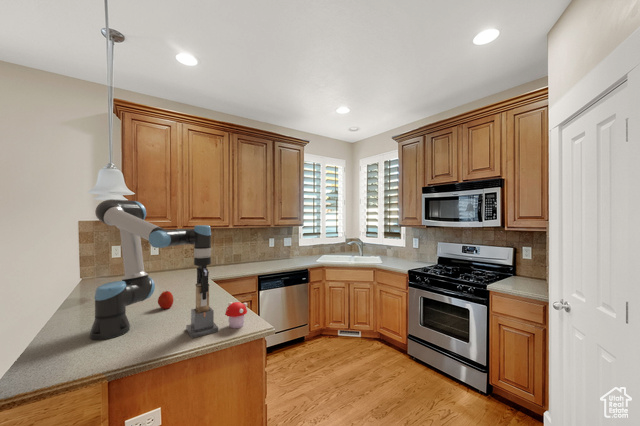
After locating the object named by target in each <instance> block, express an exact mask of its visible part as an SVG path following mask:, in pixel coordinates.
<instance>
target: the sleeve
mask: <svg viewBox="0 0 640 426" xmlns="http://www.w3.org/2000/svg"><path fill="white" fill-rule="evenodd" d="M214 313H215V311H214V310H213V309H212V307H211V306H210V305H209V311H205V312H200V313H196V307H195V308H191V309H190V324H187V325H185V327H186V331H187V333H188V335H189V337H190V338H191V339H194V338H198V337H201V336H206V335H210V334H213V333H214V334H215V333H218V332H219V327H218V326H217V324H216V323H215V322H214V317H215V315H214Z"/></svg>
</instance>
